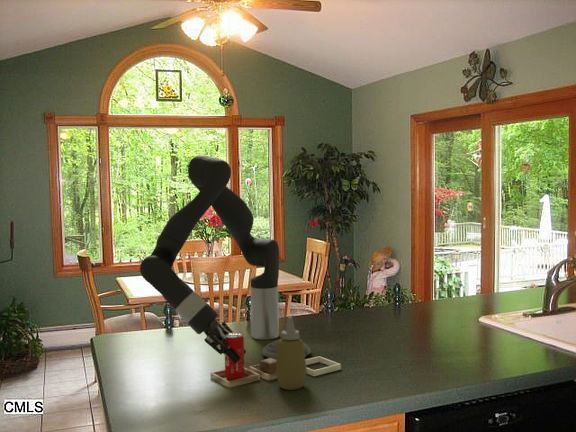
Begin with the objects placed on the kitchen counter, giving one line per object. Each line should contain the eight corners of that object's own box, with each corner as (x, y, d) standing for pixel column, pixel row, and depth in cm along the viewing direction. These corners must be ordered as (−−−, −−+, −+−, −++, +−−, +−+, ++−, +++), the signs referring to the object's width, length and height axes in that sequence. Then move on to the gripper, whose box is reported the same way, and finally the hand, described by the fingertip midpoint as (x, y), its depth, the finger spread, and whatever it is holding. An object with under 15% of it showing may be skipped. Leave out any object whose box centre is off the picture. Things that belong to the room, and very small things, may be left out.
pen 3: (292, 367, 170) (292, 362, 170) (319, 361, 176) (319, 356, 176) (313, 376, 163) (313, 371, 162) (340, 369, 168) (340, 363, 168)
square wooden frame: (249, 371, 168) (248, 366, 168) (277, 364, 173) (277, 359, 173) (268, 380, 160) (268, 375, 160) (297, 373, 166) (297, 367, 165)
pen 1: (210, 378, 163) (210, 372, 163) (240, 371, 168) (240, 365, 168) (228, 387, 155) (228, 382, 155) (259, 379, 161) (259, 374, 161)
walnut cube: (260, 375, 165) (259, 360, 165) (270, 371, 168) (270, 357, 167) (270, 378, 162) (270, 363, 162) (280, 374, 165) (280, 360, 165)
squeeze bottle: (274, 382, 159) (273, 314, 158) (305, 380, 160) (303, 313, 158) (276, 392, 151) (275, 322, 150) (308, 391, 152) (307, 320, 150)
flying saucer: (286, 346, 193) (286, 329, 193) (321, 355, 183) (321, 337, 182) (251, 356, 183) (251, 338, 183) (286, 367, 172) (285, 348, 172)
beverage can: (241, 382, 159) (240, 338, 158) (222, 381, 160) (221, 337, 159) (246, 376, 164) (245, 333, 163) (228, 375, 165) (227, 332, 164)
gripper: (197, 309, 155) (244, 356, 153) (213, 297, 169) (256, 340, 168) (178, 328, 156) (224, 375, 155) (195, 316, 170) (238, 359, 169)
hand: (241, 357), depth 161 cm, fingers closed on beverage can, 5 cm apart
